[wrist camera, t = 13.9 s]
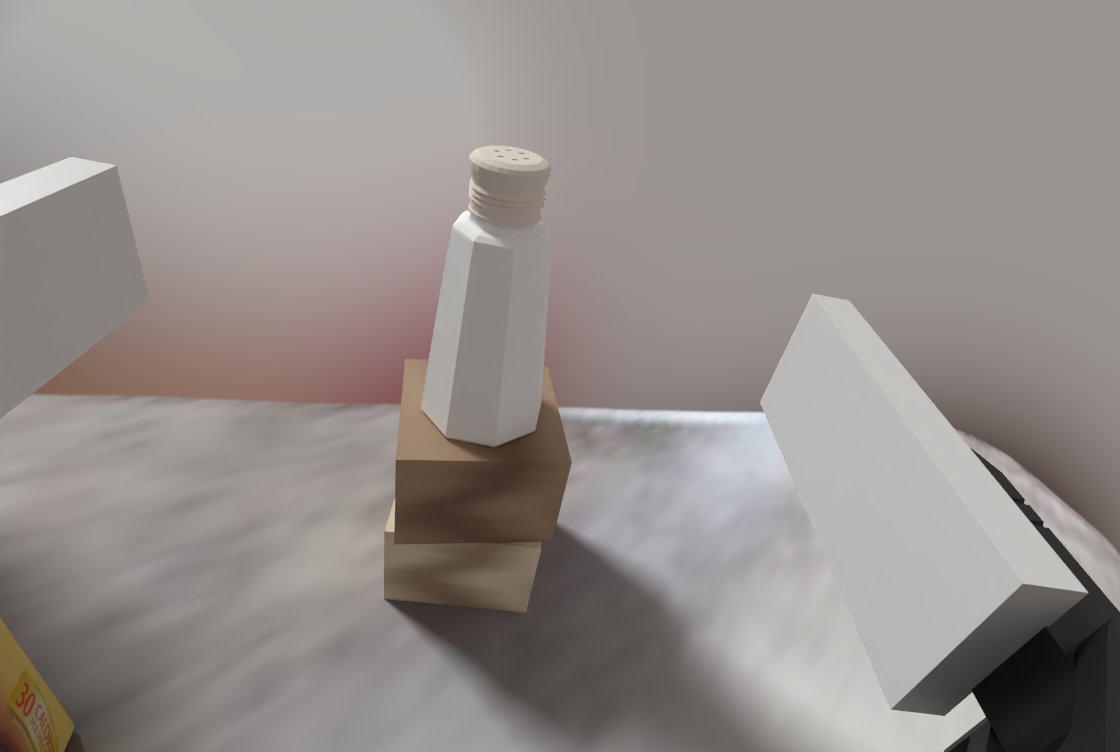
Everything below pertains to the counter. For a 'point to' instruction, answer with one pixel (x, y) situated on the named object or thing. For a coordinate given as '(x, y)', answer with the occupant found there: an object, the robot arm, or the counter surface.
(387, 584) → the tower bottom
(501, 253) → the salt shaker
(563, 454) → the tower top
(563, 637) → the counter surface
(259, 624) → the counter surface
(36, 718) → the candy box
